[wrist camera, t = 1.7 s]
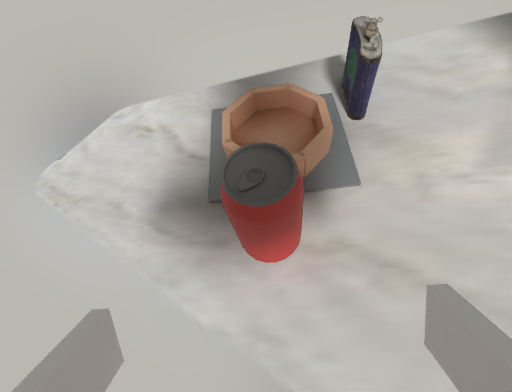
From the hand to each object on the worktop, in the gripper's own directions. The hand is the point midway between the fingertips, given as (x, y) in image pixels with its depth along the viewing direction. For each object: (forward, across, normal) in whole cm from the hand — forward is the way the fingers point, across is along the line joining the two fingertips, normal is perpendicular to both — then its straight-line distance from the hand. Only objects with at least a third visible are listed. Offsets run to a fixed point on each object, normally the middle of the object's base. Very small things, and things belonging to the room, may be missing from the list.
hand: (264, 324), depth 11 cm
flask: (+32, +14, +11) cm, 36 cm away
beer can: (+18, 0, -4) cm, 18 cm away
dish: (+27, +2, +6) cm, 27 cm away
